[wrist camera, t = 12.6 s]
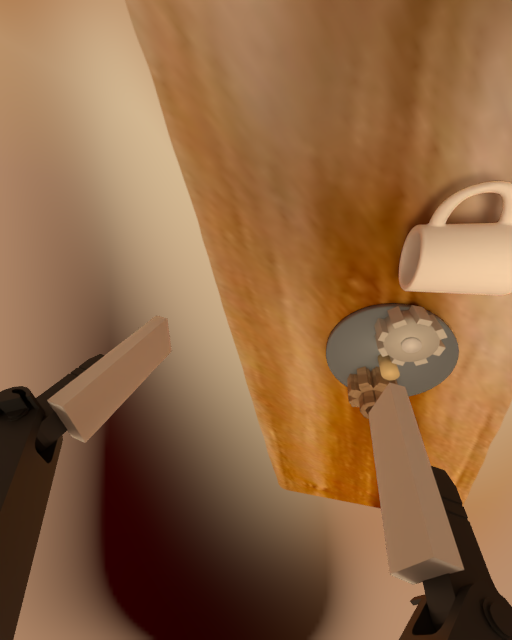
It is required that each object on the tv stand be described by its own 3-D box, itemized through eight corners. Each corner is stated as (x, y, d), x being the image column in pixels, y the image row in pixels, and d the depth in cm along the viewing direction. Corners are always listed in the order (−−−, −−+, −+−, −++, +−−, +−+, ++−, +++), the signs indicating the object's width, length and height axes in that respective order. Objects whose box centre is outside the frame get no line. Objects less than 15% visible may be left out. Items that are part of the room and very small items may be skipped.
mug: (476, 280, 31) (513, 307, 24) (394, 277, 34) (408, 301, 27) (524, 177, 25) (591, 177, 18) (419, 184, 27) (444, 186, 21)
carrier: (348, 286, 36) (349, 304, 31) (488, 317, 33) (515, 343, 28) (314, 374, 48) (312, 396, 43) (415, 404, 44) (425, 432, 39)
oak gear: (356, 360, 41) (359, 387, 36) (405, 374, 40) (415, 404, 35) (341, 390, 46) (342, 417, 41) (384, 403, 45) (391, 433, 39)
